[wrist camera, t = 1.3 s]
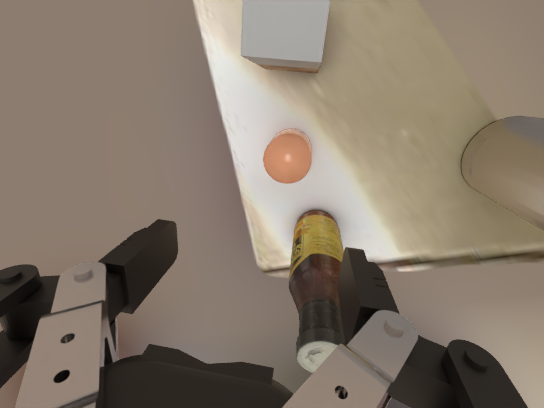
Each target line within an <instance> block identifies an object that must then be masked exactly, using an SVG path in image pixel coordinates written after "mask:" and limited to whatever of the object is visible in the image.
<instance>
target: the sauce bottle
mask: <svg viewBox="0 0 544 408" xmlns="http://www.w3.org/2000/svg"><path fill="white" fill-rule="evenodd" d="M343 254H344V252H343V247H342V241H341V237H340V232H339V228H338V226H337V224H336V222H335V220H334V219H333V218H332V217H331V216H330V215H329V214H328V213H325V212H322V211H310V212H307V213H305V214H304V215H303V216H301V217H300V218H299V220H298V222H297V225H296V227H295V229H294V237H293V247H292V256H291V266H290V276H289V289H290V293H291V295H292V297H293V300H294V302H295V304H296V307H297V310H298V313H299V320H300V327H299V337H298V338H297V343H296V345H297V360H298V362H299V364H300V365H301V366H302V367H303V368H305V369H306V370H308V371H310V372H312V373H314V372H315V371H316V369H317V368H318V367H319V366H320V365H321V364H322V363H323V362H324V361H325V359H326V358H327V357H328V356H329V355H330V354H331V353H332V352H333V351H334V349H335V348H336V347H337V346H338V345H339V344H341V343H344V344H345V339H344V332H343V325H342V317H341V310H340V302H339V295H338V276H339V271H340V267H341V263H342V259H343Z"/></svg>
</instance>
